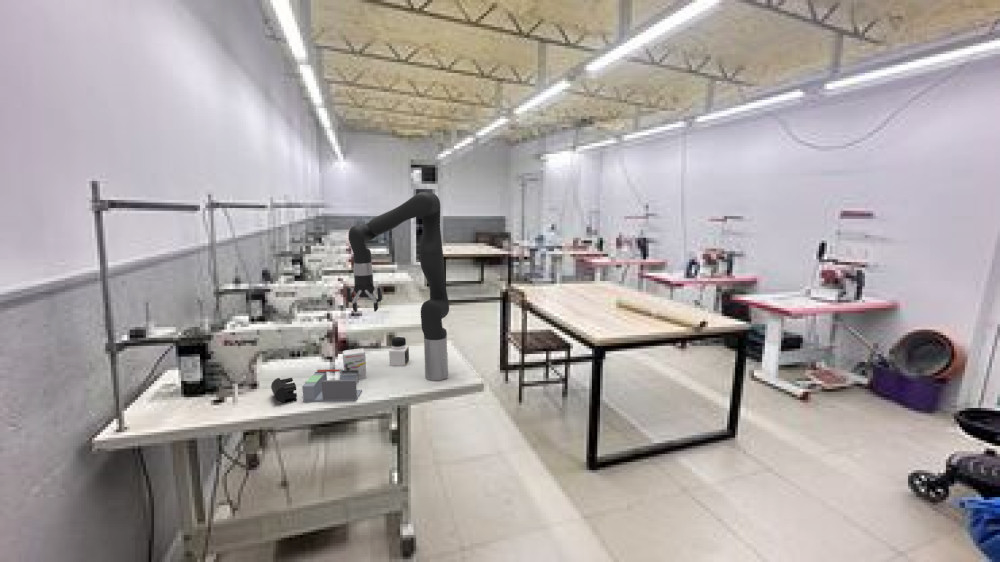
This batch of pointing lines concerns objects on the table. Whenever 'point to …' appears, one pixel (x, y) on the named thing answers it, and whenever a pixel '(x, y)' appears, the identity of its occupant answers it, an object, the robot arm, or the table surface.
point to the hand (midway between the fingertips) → (365, 311)
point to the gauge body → (329, 389)
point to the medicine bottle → (399, 352)
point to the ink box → (355, 361)
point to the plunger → (345, 374)
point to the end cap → (284, 390)
